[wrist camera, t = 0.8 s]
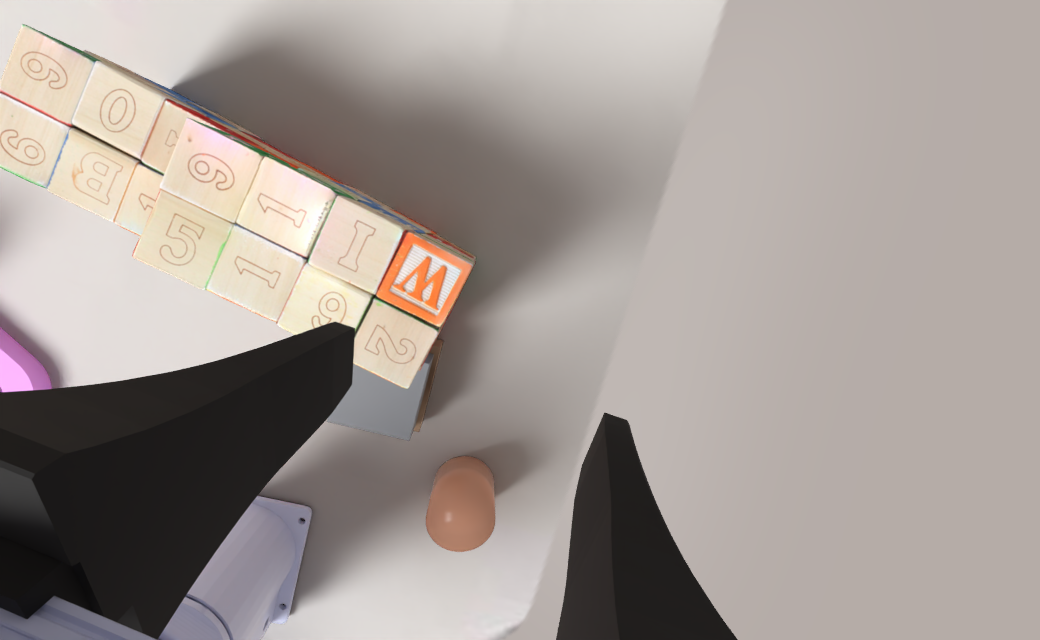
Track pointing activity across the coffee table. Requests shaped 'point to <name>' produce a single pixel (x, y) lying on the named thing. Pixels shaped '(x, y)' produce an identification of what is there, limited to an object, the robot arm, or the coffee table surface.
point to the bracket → (20, 367)
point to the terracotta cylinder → (461, 504)
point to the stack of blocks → (227, 205)
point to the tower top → (382, 403)
